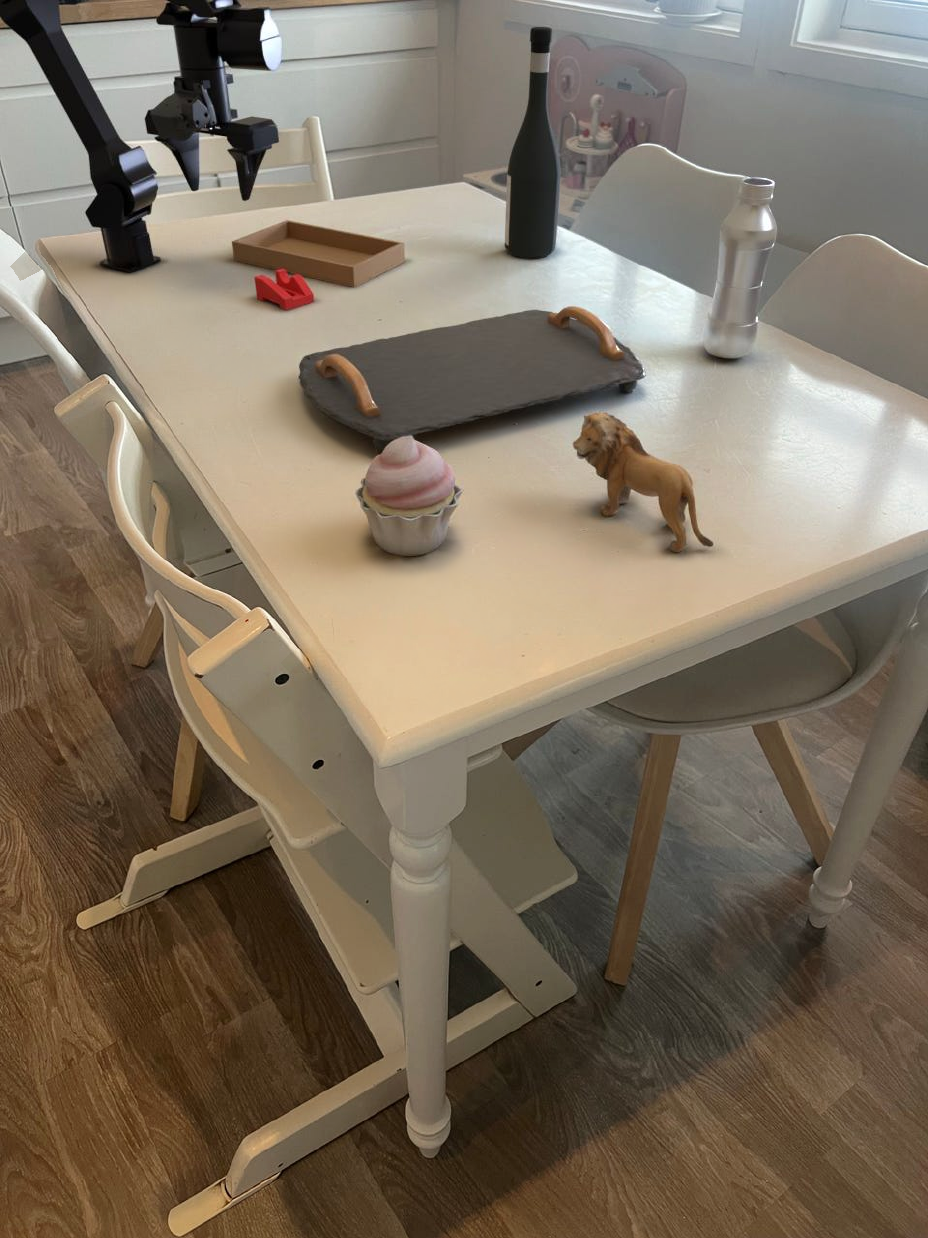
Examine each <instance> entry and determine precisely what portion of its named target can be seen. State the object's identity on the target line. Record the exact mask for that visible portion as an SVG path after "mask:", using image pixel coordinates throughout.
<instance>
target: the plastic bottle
mask: <svg viewBox="0 0 928 1238" xmlns="http://www.w3.org/2000/svg"><path fill="white" fill-rule="evenodd" d="M774 188H775V181H774V180H773V179H772V180H771V179H769V178H764V177H746V178H743V179H742V180H741V182H740V188H739V192H738V194H737V199H738V200H739V202H738V203H737V205H736V206H735V207H734V208H733V209H732V210H731V211H730V212H729V214H727V216H726V218H725V219H724V220H723V223H722V225H721V227H720V229H719V244H718V245H719V247H718V266H717V273H716V275H717V277H716V283H715V289H714V293H713V296H712V300H711V304H710V308H709V312H708V315H707V316H706V319H705V322H704V325H703V329H702V345H703V347H704V349H705V351H706V352H707V353H708V354H710V355H712V356H715V357H717V358H718V357H719V358H723V359H738V358H743V357H745V356H747V355H748V354H749V353H750V352H751V351H752V349H753V347H754V345H755V342H756V339H757V336H758V312H759V304H760V296H761V290H762V286H763V281H764V278H765V274H766V269H767V267H768V263H769V260H770V257H771V254H772V252H773V248H774V246H775V243H776V239H777V236H778V227H777V222H776V219H775V217H774V214H773V211H772V210H771V208H770V203H771V202H772V201H773V199H774V195H773V194H774Z"/></svg>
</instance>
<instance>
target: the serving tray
mask: <svg viewBox="0 0 928 1238" xmlns="http://www.w3.org/2000/svg"><path fill="white" fill-rule="evenodd" d="M298 368H299V375H298V380H299V385H300V386H301V388H302V389H303V393H304V396H305V397H306V398H307V399H308V400H309V401H310V402H311V403H312V405H314V406H315V407H316V408H317V409H318V410H319V411H320V412H321V413H323V414H325V415H327V416H328V418H330V419H332V420H333V421H336V422H338V423H339V424H342V425H344V426H345V427H347V428H350V429H352V430H354V431H357V432H359V433H361V434H364V435H367V436H369V437H370V438H373V443H372V444H373V448H374V449H375V450H376V452H377V453H378V455H380V454H382V452H383V450H384V449H385V447H386V446H387V445H388V444H389V443H391V442H392V441H394V440H396V439H398V438H401V437H403V436H404V437H405V436H415V435H418V434H424V433H427V432H431V431H437V430H439V429H440V430H441V429H444V428H448V427H452V426H456V425H460V424H465V423H468V422H469V423H470V422H473V421H476V420H479V419H484V418H489V417H492V416H497V415H502V414H505V413H509V412H513V411H516V410H521V409H527V408H529V407H533V406H538V405H542V404H545V403H549V402H552V401H553V402H554V401H559V400H562V399H565V398H571V397H574V396H577V395H582V394H585V393H590V392H595V391H599V390H602V389H607V388H610V387H614V386H618V388H619V390H620V392H621V393H623V394H631V393H633V392H634V390H635V389H636V388H637V385H638V381H639V380H641V379H644V378H646V376H647V374H646V370H645V368H644V365H643V363H642V362H641V361H640V359H638V357H637V356H636V354H635V353H634V352H633V351H632V350H631V348H629V347H627V346H625V344H623V343H622V342H620V341H619V340H618V339H617V338H616V337H615V336H614V335H613V333H612V331H611V329H610V327H609V326H608V325H607V323H606V322H605V321H603V320H602V319H601V318H600V317H598V316H597V315H596V314H595V313H592V312H591V311H589V310H588V309H585V308H583V307H581V306H575V305H574V306H573V305H571V306H570V305H569V306H567V307H563V308H562V309H561V310H559V311H558V313H557V312H552V311H549V310H540V309H529V310H523V311H519V312H513V313H512V312H511V313H507V314H504V315H499V316H493V317H486V318H482V319H481V318H480V319H477V320H471V321H468V322H465V323H460V324H455V325H449V326H442V327H435V328H430V329H425V330H420V331H417V332H412V333H407V334H403V335H397V336H391V337H387V338H378V339H376V340H372V341H371V340H370V341H367V342H363V343H360V344H359V343H358V344H353V345H350V346H345V347H344V346H343V347H337V348H332V349H328V350H323V351H316V352H313V353H310V354H306V355H304V356H303V357H302V358H301V360H300V362H299V364H298Z"/></svg>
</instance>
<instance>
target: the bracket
mask: <svg viewBox="0 0 928 1238" xmlns="http://www.w3.org/2000/svg"><path fill="white" fill-rule="evenodd" d="M274 275H275V281H274V280H273V279H272V278H271V277H269V276H266V275H264V274H259V275H255V276H254V277H253V278H254V285H255V286H254V287H255V293H256V299H257V300H259V301H261V302H265V301H271V302H272V303H276V304H279V309H282V310H284V311H289V310H292V309H293V310H294V309H296V308H299V307H302V306H305V305H308V304H311V303H314V302H315V296H314V293H313V291H312V289H311V288H310V286H309V285H308V283H307V282H306V280H305V278H304V276H302V275H298V274H292V275H290V276H289V273H288V272H287V270H285V269H279V270H274Z"/></svg>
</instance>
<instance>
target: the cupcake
mask: <svg viewBox="0 0 928 1238" xmlns="http://www.w3.org/2000/svg"><path fill="white" fill-rule="evenodd" d="M360 484H361V487H359V488H357V489H356V491H355V492H354V494H355V496H356V498H357V500H358V502H359V504H360V505H359V506H360V508H361V510H362V511H363V513H364V514H365V515H366V518H367V521H368V525H369V529H370V530H371V533H372V537H373V540H374V541H375V543H376V545H378V547H380V549H382V550H383V551H385V552H387V553H389V554H392V555H397V556H401V557H415V556H423V555H426V554H429V553H431V552H433V551H435V550H437V549H438V548H439V547H440V546H441V545H442V544H443V542H444V541H445V539H446V537H447V534H448V530H449V525H450V520H451V517H452V515H453V513H454V512H455V510H456V509H457V507H458V506H459V499H460V497H461V495H462V494H463V492H464V490H465V489H464V488H463V487H461V486H460V485H457V484H456V475H455V471H454V470H453V468H452V467H451V466H450V464H448V463H447V462H446V461H445V460H444V459H443V458H442V456H441V454H440V453H439V452H438V451H437V450H436V449H434V448H433V447H431V446H428V445H427V444H424V443H422V442H420V441H417V440H415V438H414V436H413V435H411V436H405V437H404V436H403V437H401V438H398V439H395V440H394V441H392V442H391V443H389V444H388V445H387V446H386V447H385V449H384V450H383V452H382V454H378V455H376V456H375V457H374V458H373V460H372V461H371V463H370V464H369V467H367V471H366V473H365V476H364V478H361V480H360Z"/></svg>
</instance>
